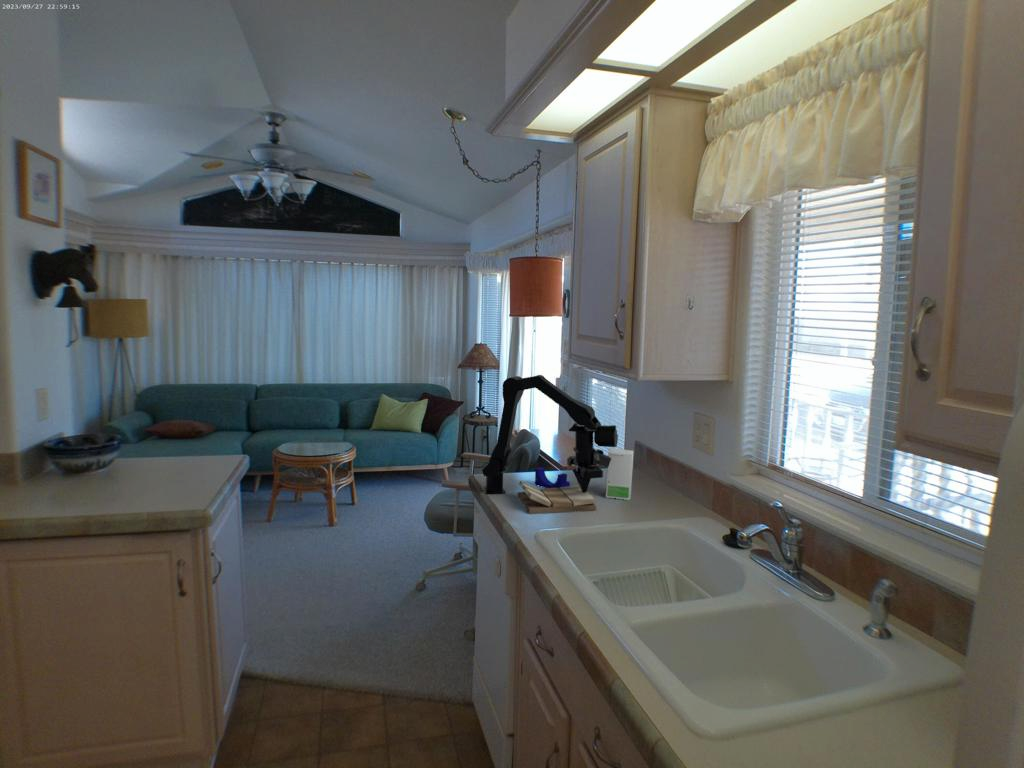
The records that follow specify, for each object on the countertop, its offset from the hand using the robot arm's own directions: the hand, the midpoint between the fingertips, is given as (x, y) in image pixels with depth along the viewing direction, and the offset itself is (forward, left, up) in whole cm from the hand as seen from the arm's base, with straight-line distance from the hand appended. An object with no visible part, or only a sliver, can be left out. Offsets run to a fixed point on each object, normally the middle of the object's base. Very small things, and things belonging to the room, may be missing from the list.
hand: (584, 492), depth 194 cm
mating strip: (0, -10, -2) cm, 10 cm away
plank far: (0, -2, -1) cm, 3 cm away
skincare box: (-4, +13, -3) cm, 14 cm away
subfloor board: (0, -10, -3) cm, 10 cm away
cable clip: (-18, -6, -4) cm, 19 cm away
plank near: (0, -17, 0) cm, 17 cm away
